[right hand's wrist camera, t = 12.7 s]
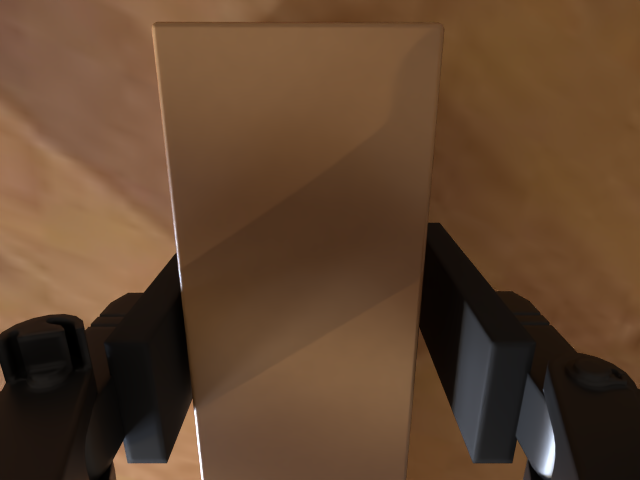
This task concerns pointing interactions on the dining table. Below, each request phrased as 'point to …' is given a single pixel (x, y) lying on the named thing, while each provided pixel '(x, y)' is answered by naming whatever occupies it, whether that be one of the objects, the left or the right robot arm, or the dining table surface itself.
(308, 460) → the post
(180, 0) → the dining table surface
